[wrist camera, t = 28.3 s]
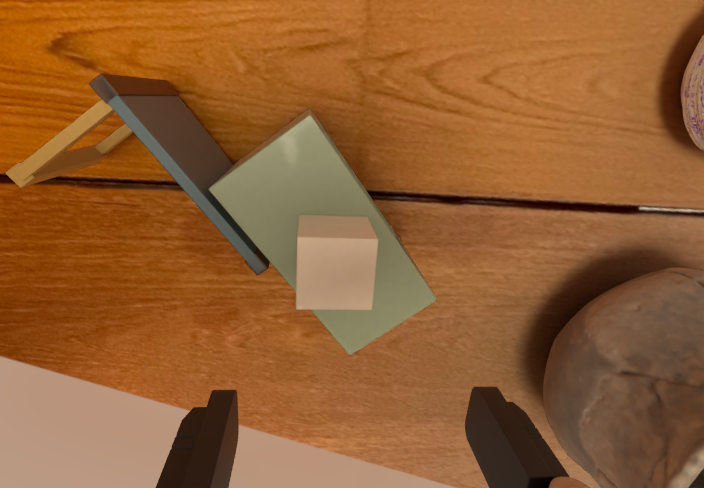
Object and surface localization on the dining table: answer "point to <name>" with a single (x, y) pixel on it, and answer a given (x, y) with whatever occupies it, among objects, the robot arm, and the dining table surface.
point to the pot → (633, 383)
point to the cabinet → (319, 199)
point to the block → (335, 263)
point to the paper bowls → (694, 96)
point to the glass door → (158, 136)
